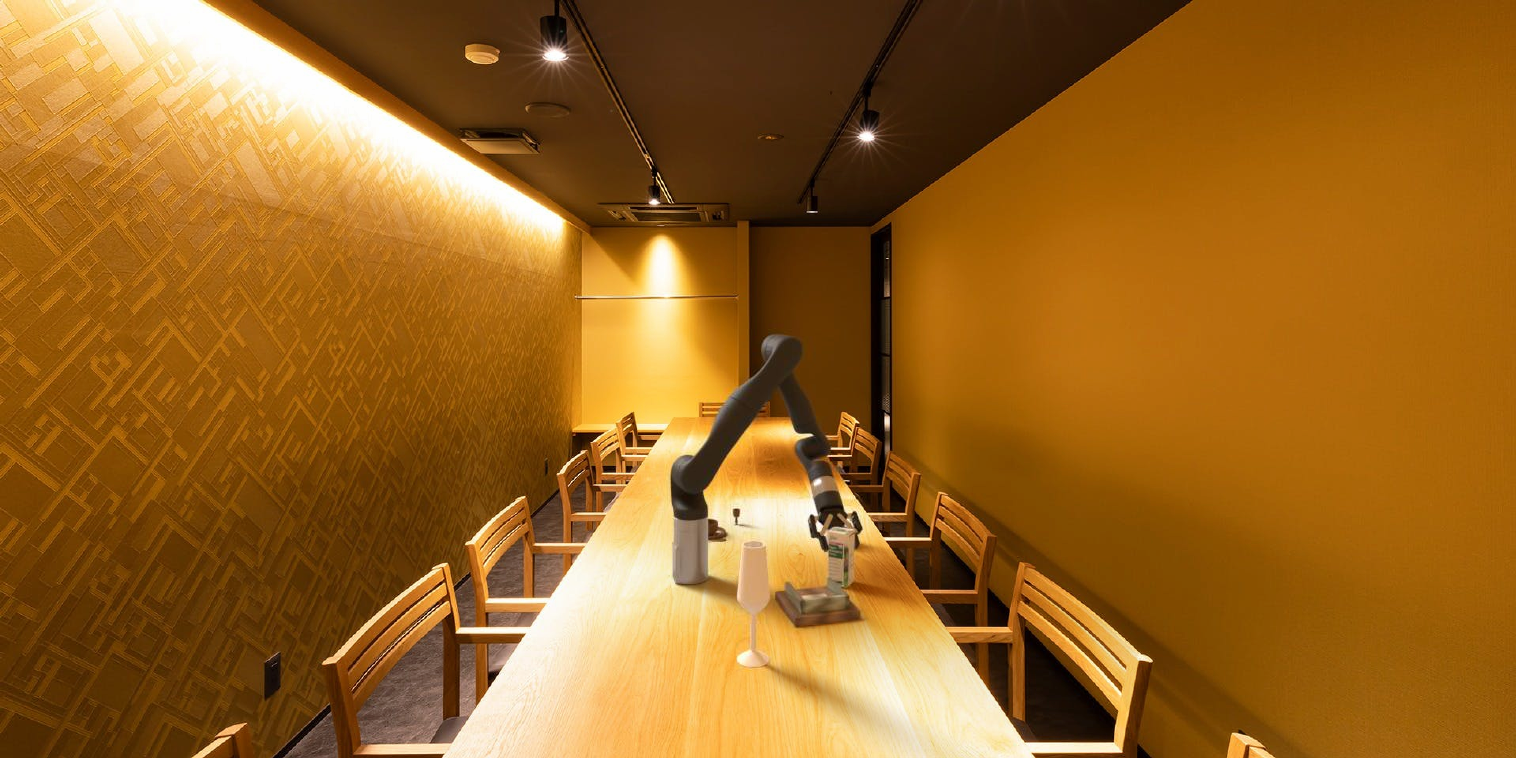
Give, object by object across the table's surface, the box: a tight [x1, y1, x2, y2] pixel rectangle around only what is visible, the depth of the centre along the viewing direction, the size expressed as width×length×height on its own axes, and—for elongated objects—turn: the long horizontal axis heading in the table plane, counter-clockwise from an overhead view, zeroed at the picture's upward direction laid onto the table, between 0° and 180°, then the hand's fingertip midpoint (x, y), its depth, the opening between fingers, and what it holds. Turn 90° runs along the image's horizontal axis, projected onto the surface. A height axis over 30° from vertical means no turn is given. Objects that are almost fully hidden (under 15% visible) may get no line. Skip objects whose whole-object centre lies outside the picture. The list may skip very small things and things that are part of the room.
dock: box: [774, 578, 862, 628], centre depth 163 cm, size 16×16×5 cm
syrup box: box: [826, 527, 855, 589], centre depth 179 cm, size 6×6×14 cm
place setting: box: [708, 508, 741, 543], centre depth 222 cm, size 18×20×6 cm
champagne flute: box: [736, 540, 771, 668], centre depth 137 cm, size 7×7×24 cm
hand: (841, 549), depth 179 cm, fingers open, 8 cm apart
